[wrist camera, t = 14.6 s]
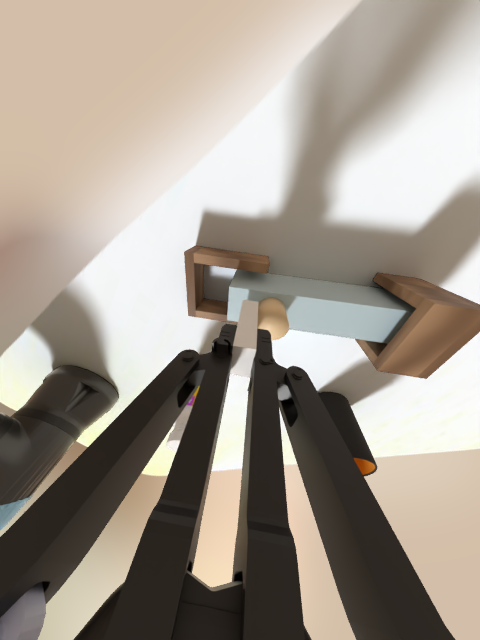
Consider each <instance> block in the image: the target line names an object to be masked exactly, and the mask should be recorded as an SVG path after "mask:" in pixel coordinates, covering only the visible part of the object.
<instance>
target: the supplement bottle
mask: <svg viewBox="0 0 480 640" xmlns="http://www.w3.org/2000/svg"><path fill="white" fill-rule="evenodd" d="M199 387H200V386H199ZM199 387H198V388H197V390H196V391H195V393H194V394H193V396H192V397H191V399H190V400H189V402H188V403H187V405H186V406H185V408H184V409H183V411H182V412H181V414H180V415H179V417H178V418H177V420H176V421H175V423H174V424H173V427H174V430H173V431H172V432H171V433H170V435H169V438H168V440H167V443H166V445H167V447H168V448H169V449H170V450H172V451H174V452H177V449H178V446H179V443H180V440H181V438H182V435H183V432H184V429H185V426H186V424H187V421H188V418H189V415H190V412H191V409H192V407H193V404H194V401H195V398H196V395H197V393H198V390H199Z"/></svg>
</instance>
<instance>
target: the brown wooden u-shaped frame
mask: <svg viewBox="0 0 480 640" xmlns="http://www.w3.org/2000/svg"><path fill="white" fill-rule="evenodd" d="M184 255H185V271H186V287H187V302H188V316H193V317H199V318H206V319H212V320H218V321H224V322H231V323H237V324H238V322H235V321H228V320H227V312H228V302H223V301H216V300H210V299H204V279H203V264H206V265H212V266H219V267H226V268H232V269H239V270H246V271H252V272H259V273H266V274H267V273H268V268H269V258H268V256H261V255H254V254H247V253H240V252H233V251H227V250H220V249H213V248H206V247H199V246H194V247H192V248H190V249H188V250H187V251H185V252H184Z"/></svg>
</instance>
